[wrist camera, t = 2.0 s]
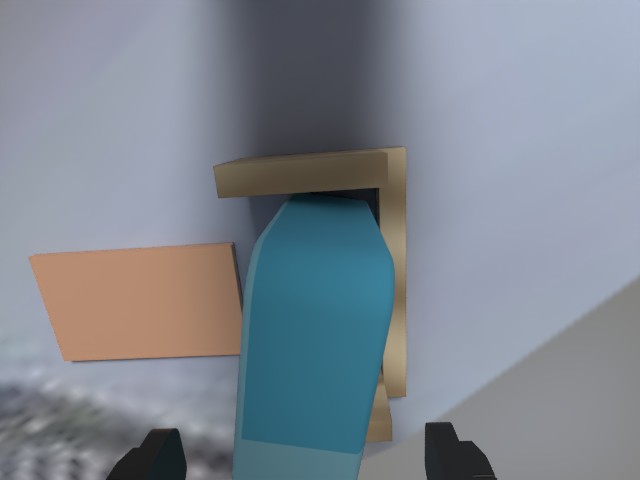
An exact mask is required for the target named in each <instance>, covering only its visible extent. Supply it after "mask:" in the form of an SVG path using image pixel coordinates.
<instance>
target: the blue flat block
mask: <svg viewBox="0 0 640 480" xmlns="http://www.w3.org/2000/svg"><path fill="white" fill-rule="evenodd" d="M394 294H395V269H394V262H393V258H392V256H391V253H390V251H389V249H388V247H387V245H386V243H385V240H384V238H383V236H382V234H381V232H380V230H379V227H378V225H377V223H376V221H375V219H374V216H373V214H372V212H371V210H370V208H369V206H368V203H367V202H366V201H363V200H355V199H348V198H340V197H332V196H325V195H317V194H310V193H291V194H290V195H289V197H288V198H287V199H286V201H285V202H284V203H283V205H282V206H281V208H280V209H279V210H278V212H277V213H276V215H275V216H274V217H273V219H272V220H271V222H270V223H269V224H268V226H267V227H266V228H265V230H264V231H263V233H262V234H261V235H260V237H259V238H258V240H257V241H256V243H255V246H254V248H253V251H252V254H251V258H250V262H249V266H248V271H247V276H246V282H245V289H244V299H243V314H242V330H241V345H240V361H239V376H238V392H237V407H236V423H235V439H234V454H233V470H232V480H357V477H358V472H359V468H360V463H361V459H362V454H363V449H364V445H365V440H366V435H367V430H368V426H369V421H370V416H371V412H372V407H373V402H374V398H375V393H376V388H377V383H378V379H379V374H380V369H381V365H382V360H383V355H384V351H385V346H386V341H387V336H388V332H389V327H390V322H391V317H392V312H393V304H394Z"/></svg>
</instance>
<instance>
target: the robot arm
mask: <svg viewBox="0 0 640 480" xmlns="http://www.w3.org/2000/svg"><path fill="white" fill-rule="evenodd" d="M425 469H426V476H427V480H497V478H495V475H494V472H493V470H492V467H491V465H490V463H489V461H488V459H487V457H486V455H485V454H484V453H483V452H482V451H481V450H480V449H479V448H478V447H477V446H476V445H475V444H474V443H473V442H472V441H459V440H458V437H457V435H456V432H455V430H454V428H453V425H452V424H451V423H450V422H432V423H426V425H425ZM186 472H187V465H186V460H185V455H184V451H183V447H182V442H181V438H180V434H179V431H178V429H176V428H171V429H152V430H151V431H150V432H149V433H148V435H147V436H146V438H145V440H144V441H143V443H142V444H141V446H140V448H132V449H131V450H130V451H129V452H128V453H127V454H126V455H125V456H124V457H123V458H122V459H121V460H119V461H118V462H117V464H116V465H115V467H114V468H113V470H112V471H111V473H110V474H109V476H108V477H107V479H106V480H185V478H186Z"/></svg>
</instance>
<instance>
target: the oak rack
mask: <svg viewBox="0 0 640 480" xmlns="http://www.w3.org/2000/svg"><path fill="white" fill-rule="evenodd" d="M213 169H214V175H215V181H216V187H217V193H218V198H229V197H244V196H259V195H274V194H289V193H304V192H319V191H334V190H349V189H364V188H376V200H377V225H378V227H379V230H380V232H381V234H382V236H383V238H384V240H385V243H386V245H387V247H388V249H389V251H390V253H391V256H392V258H393V262H394V269H395V294H394V304H393V312H392V317H391V322H390V327H389V332H388V336H387V341H386V346H385V351H384V355H383V360H382V365H381V369H380V374H379V379H378V383H377V388H376V393H375V398H374V402H373V407H372V412H371V416H370V421H369V426H368V430H367V435H366V440H365V442H373V441H392V419H391V414H390V409H389V404H388V399H387V397H406V147H388V148H374V149H361V150H347V151H334V152H320V153H307V154H293V155H279V156H266V157H252V158H240V159H237V160H233V161H230V162H226V163H223V164H219V165H215V166H213Z"/></svg>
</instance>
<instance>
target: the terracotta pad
mask: <svg viewBox="0 0 640 480" xmlns="http://www.w3.org/2000/svg"><path fill="white" fill-rule="evenodd" d="M29 260H30V263H31V266H32V269H33V272H34V275H35V278H36V281H37V284H38V287H39V289H40V292H41V295H42V298H43V301H44V304H45V307H46V310H47V313H48V316H49V319H50V321H51V324H52V327H53V330H54V333H55V336H56V339H57V342H58V345H59V348H60V350H61V353H62V356H63V359H64V361H83V360H109V359H134V358H160V357H186V356H211V355H237V354H240V345H241V330H242V314H243V300H242V294H241V288H240V281H239V275H238V268H237V262H236V255H235V249H234V243H219V244H202V245H185V246H169V247H152V248H135V249H118V250H101V251H84V252H67V253H50V254H36V255H33V256H31V257H29Z"/></svg>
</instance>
